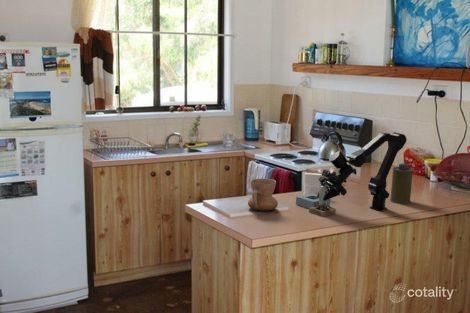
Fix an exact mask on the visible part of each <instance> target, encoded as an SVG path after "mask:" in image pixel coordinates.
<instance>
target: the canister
mask: <svg viewBox="0 0 470 313" xmlns="http://www.w3.org/2000/svg"><path fill="white" fill-rule="evenodd" d="M413 172H414V169H413V168H410V167H409V166H408V164H407V163H402V162H401V163H399V164H398V166H394V167H392V177H391V189H390V191H391V192H390V199H389V201H390V202H391V203H394V204H399V203H401V204H402V205H407V204H406V203H408V204H410V203H411V195H412V194H411V193H412V182H413ZM401 204H400V205H401Z"/></svg>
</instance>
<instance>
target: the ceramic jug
mask: <svg viewBox="0 0 470 313" xmlns="http://www.w3.org/2000/svg"><path fill="white" fill-rule="evenodd" d="M276 185H277V181H276V180H275V179H272V178H271V179H270V178H267V177H265V178H263V177H261V178H253V179H252V180H250V186H251V190H252V192H251V197H250V198H249V200H248V201H247V205H248V207H249V208H250V209H252V210H254V209H255V210H254V211H257V210H262V211H261V212H270V210H271V211H273V210H275V209H277V207H278V205H279V202H278V200H277V199H276V198H275V197H274V196H273V193H274V191H275V188H276Z"/></svg>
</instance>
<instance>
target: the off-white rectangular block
mask: <svg viewBox="0 0 470 313" xmlns="http://www.w3.org/2000/svg"><path fill="white" fill-rule="evenodd" d="M321 174H322V173H313V172H305V173H304V183H303V184H304V185H303V186H304V187H303V195H308V194H316V195H318V193H319V188H320V186H321V183H320V181H319V180H318V179H319V178H320V177H321V176H322V175H321Z"/></svg>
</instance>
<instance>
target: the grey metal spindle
mask: <svg viewBox="0 0 470 313" xmlns="http://www.w3.org/2000/svg"><path fill="white" fill-rule="evenodd" d="M328 189H329V188H328V186H324V185H321V186H320V188H319V205H318V210H321V211H325V210H327V200H325V201H324V200H323V198H324V197H325V195H326V194H327V193H328Z"/></svg>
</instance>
